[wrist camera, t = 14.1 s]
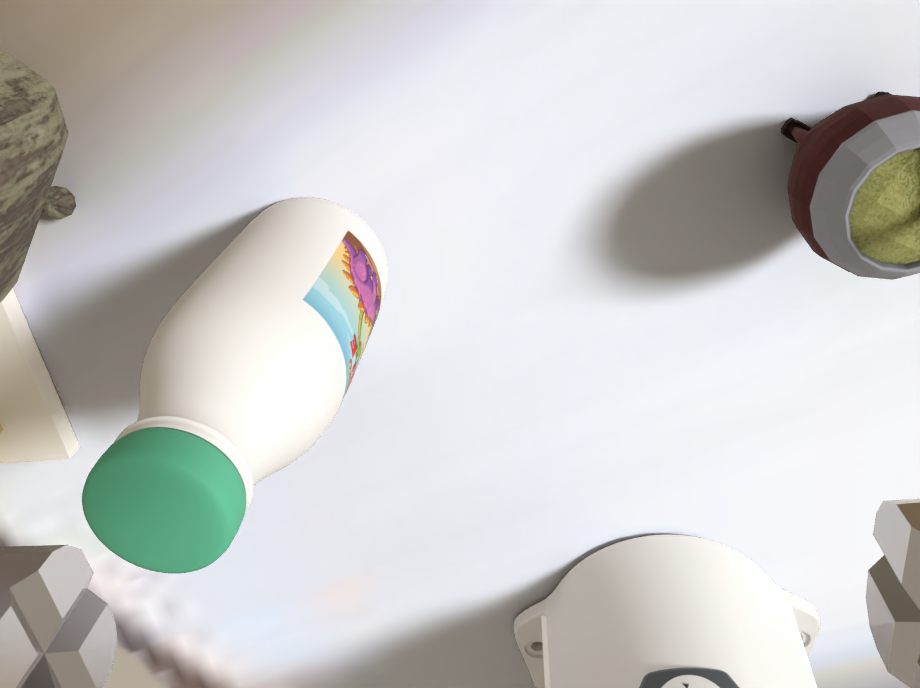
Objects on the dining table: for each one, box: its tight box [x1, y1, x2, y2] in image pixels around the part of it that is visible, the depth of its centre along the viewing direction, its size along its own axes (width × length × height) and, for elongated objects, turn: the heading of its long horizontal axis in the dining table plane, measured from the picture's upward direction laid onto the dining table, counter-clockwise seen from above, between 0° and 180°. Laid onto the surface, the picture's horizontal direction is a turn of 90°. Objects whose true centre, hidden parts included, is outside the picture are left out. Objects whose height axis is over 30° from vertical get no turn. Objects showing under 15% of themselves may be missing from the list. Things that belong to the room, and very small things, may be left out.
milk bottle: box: [82, 197, 388, 573], centre depth 32 cm, size 8×8×20 cm
